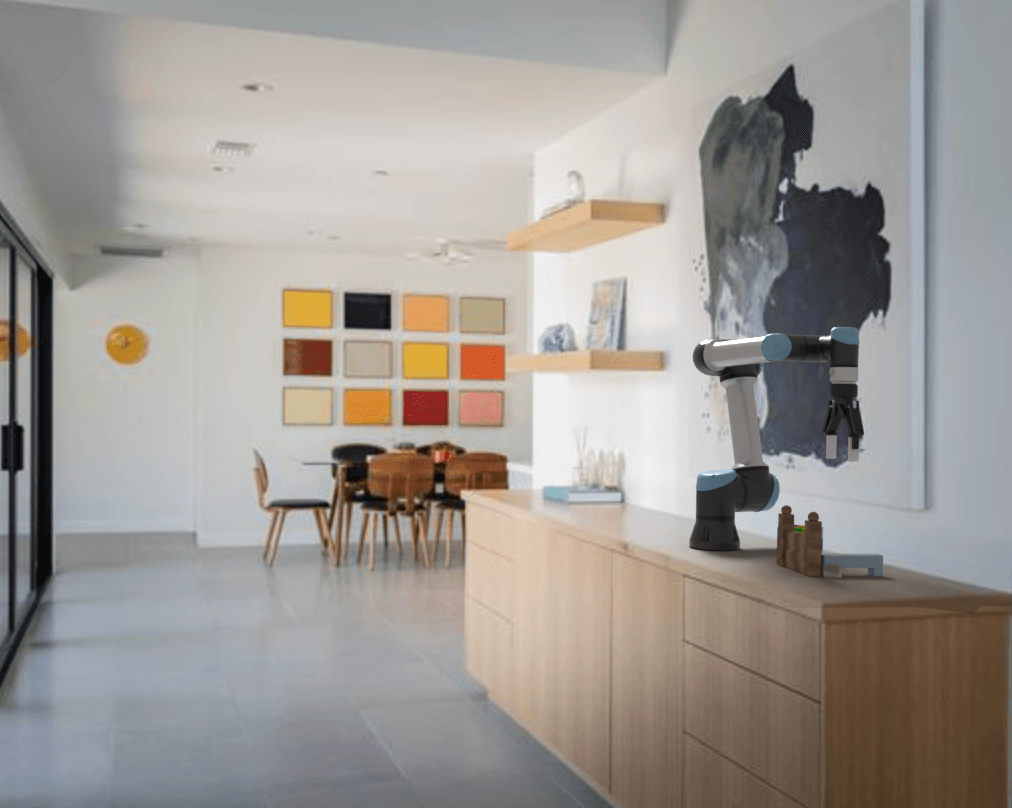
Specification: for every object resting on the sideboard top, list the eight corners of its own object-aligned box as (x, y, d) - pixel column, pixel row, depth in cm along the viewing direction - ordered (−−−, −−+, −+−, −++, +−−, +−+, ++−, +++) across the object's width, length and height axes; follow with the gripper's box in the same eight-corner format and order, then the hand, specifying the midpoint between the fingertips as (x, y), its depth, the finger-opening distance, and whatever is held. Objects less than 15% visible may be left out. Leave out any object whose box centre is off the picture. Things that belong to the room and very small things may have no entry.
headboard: (777, 564, 318) (778, 504, 318) (804, 564, 319) (805, 504, 319) (812, 577, 296) (813, 513, 296) (841, 577, 297) (843, 513, 297)
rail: (818, 574, 302) (818, 553, 302) (876, 574, 304) (876, 553, 304) (824, 576, 298) (824, 555, 298) (882, 576, 301) (883, 555, 301)
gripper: (811, 383, 334) (810, 457, 334) (851, 382, 309) (849, 462, 309) (836, 383, 335) (834, 457, 335) (878, 383, 310) (876, 462, 310)
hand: (842, 460), depth 322 cm, fingers open, 13 cm apart
